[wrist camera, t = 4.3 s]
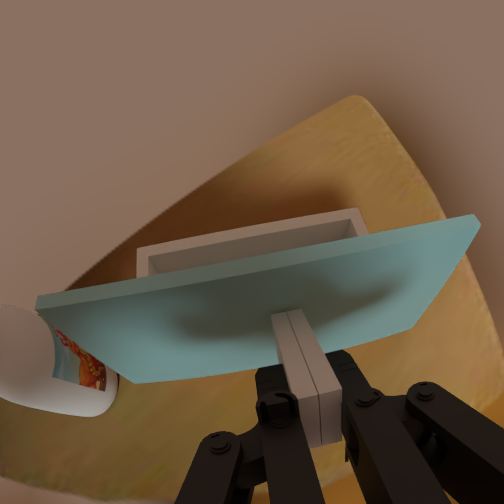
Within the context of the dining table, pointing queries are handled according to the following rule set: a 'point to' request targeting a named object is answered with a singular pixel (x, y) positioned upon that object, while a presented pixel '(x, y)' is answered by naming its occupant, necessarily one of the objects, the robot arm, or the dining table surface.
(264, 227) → the white shallow box
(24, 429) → the dining table surface
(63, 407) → the milk bottle
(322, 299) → the cover
